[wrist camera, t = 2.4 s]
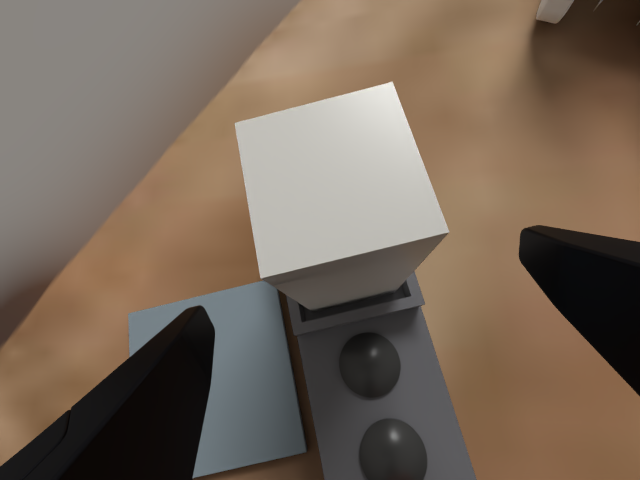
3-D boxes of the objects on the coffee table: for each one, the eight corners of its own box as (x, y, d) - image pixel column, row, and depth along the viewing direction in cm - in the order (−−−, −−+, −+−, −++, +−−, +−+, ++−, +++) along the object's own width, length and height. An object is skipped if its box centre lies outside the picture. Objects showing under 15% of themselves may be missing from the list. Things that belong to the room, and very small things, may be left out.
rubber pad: (307, 449, 17) (306, 452, 17) (138, 488, 17) (133, 491, 17) (276, 278, 20) (274, 277, 20) (132, 314, 20) (128, 313, 20)
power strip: (472, 502, 16) (510, 555, 12) (343, 530, 16) (339, 592, 12) (381, 213, 21) (388, 185, 17) (284, 237, 21) (268, 215, 17)
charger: (394, 292, 17) (449, 232, 7) (313, 312, 17) (260, 278, 7) (371, 217, 18) (392, 82, 8) (297, 236, 18) (234, 122, 9)
